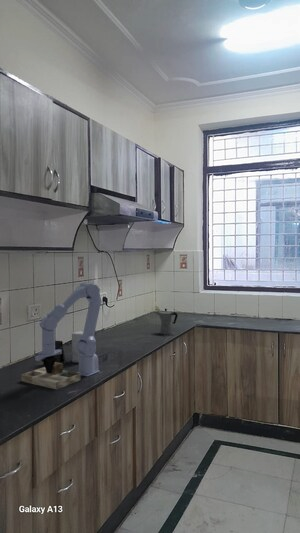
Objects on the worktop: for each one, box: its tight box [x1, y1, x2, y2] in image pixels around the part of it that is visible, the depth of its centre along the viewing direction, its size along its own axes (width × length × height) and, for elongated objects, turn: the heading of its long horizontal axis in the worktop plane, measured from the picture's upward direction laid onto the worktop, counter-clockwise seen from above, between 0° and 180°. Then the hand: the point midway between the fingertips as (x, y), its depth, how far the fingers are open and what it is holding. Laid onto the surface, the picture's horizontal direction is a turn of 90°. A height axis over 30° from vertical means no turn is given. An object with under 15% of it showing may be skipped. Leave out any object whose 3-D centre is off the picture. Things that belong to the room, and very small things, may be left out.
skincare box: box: [71, 330, 84, 364], centre depth 216 cm, size 8×7×16 cm
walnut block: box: [50, 362, 64, 375], centre depth 186 cm, size 5×5×4 cm
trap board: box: [20, 366, 82, 390], centre depth 183 cm, size 15×22×3 cm, turn 58°
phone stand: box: [54, 340, 66, 364], centre depth 212 cm, size 9×6×12 cm, turn 166°
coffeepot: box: [156, 308, 179, 336], centre depth 287 cm, size 15×9×18 cm, turn 70°
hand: (49, 372), depth 182 cm, fingers closed
